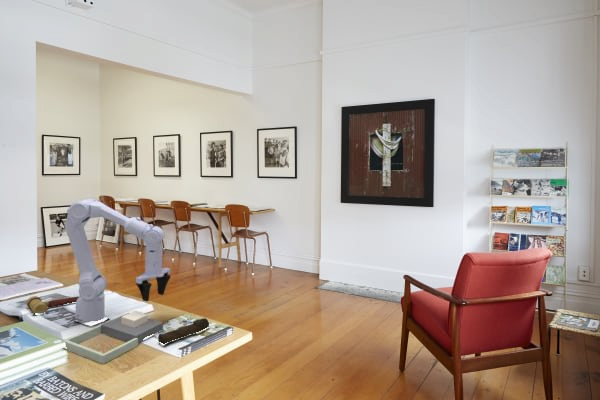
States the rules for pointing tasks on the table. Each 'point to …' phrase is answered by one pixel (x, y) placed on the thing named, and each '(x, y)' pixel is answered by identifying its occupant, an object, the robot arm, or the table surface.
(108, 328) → the charcoal board
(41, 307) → the gavel
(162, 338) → the dark brown rounded bar
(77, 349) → the box
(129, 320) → the tile
